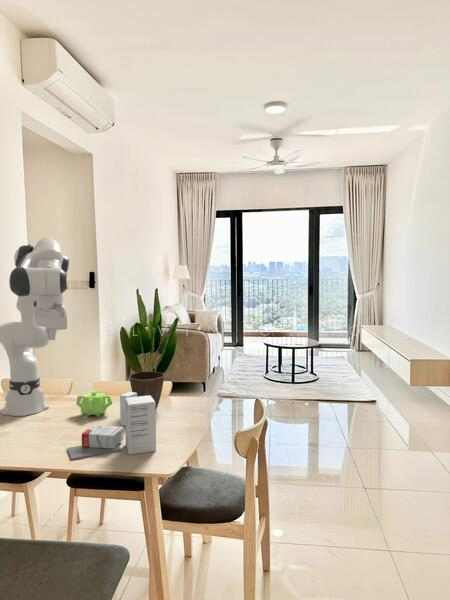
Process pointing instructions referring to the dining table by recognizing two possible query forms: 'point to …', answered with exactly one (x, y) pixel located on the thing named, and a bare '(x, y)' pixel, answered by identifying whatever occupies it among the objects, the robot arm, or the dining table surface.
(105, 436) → the ink box
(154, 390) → the plant pot
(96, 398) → the teapot
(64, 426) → the dining table surface
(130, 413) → the supplement box
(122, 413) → the skincare box
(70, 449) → the slate tile
